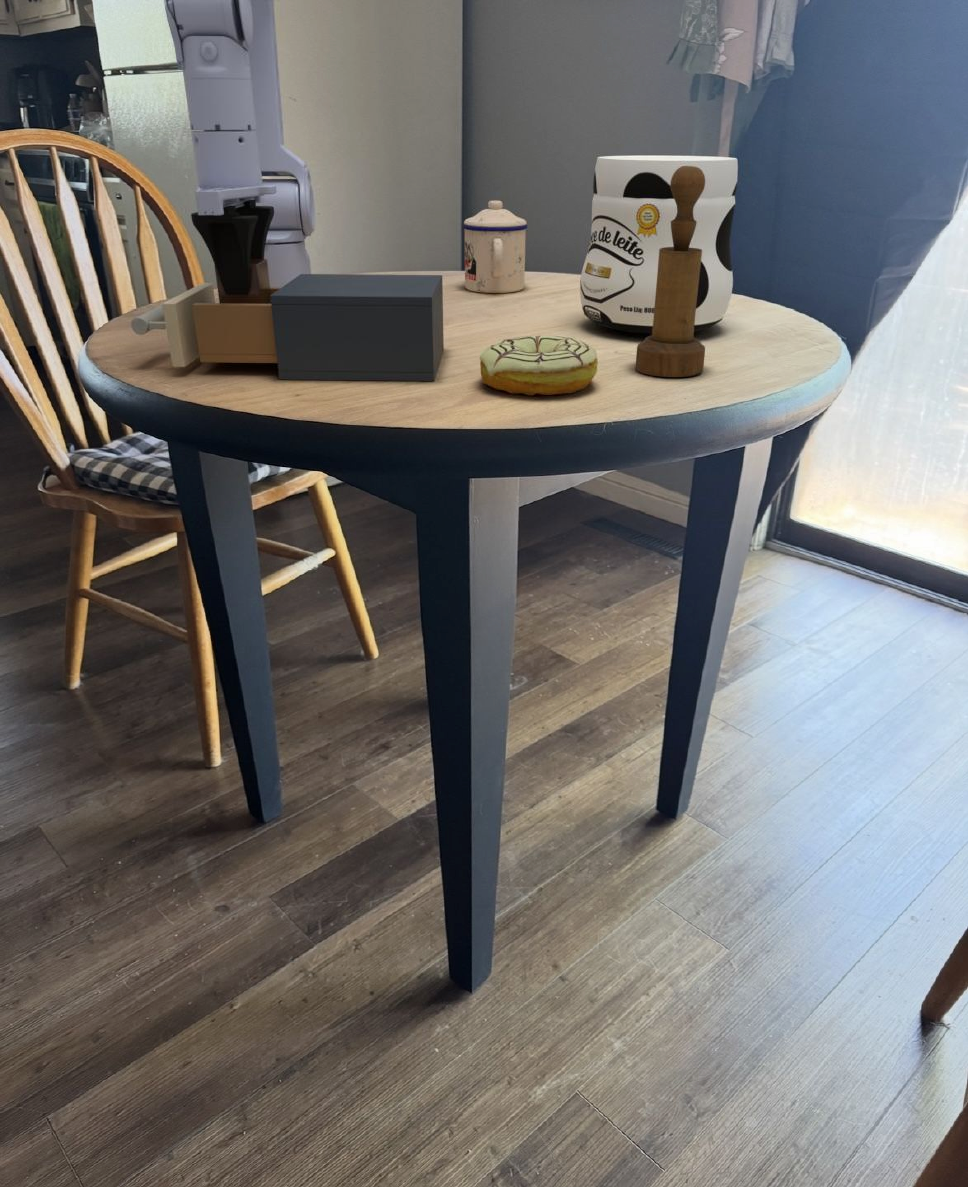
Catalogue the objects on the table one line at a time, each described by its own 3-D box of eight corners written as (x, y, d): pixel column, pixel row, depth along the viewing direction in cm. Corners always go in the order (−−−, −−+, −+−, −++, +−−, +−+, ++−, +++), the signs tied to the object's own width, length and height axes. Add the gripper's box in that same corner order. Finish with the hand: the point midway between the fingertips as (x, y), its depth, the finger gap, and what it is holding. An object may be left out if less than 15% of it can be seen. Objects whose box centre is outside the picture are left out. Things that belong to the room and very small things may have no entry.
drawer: (128, 366, 83) (116, 303, 80) (170, 340, 93) (160, 282, 90) (314, 368, 82) (308, 304, 79) (336, 341, 92) (331, 284, 89)
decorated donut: (482, 369, 86) (482, 330, 84) (592, 371, 85) (594, 331, 83) (477, 398, 77) (476, 355, 75) (599, 400, 76) (602, 357, 74)
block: (231, 301, 87) (226, 258, 85) (271, 301, 87) (267, 258, 85) (219, 308, 83) (213, 264, 82) (261, 309, 83) (256, 264, 81)
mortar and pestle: (656, 358, 90) (675, 163, 81) (714, 368, 86) (740, 165, 78) (622, 371, 85) (638, 166, 77) (682, 382, 82) (706, 168, 73)
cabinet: (279, 379, 82) (269, 295, 78) (307, 348, 93) (300, 273, 90) (434, 381, 82) (431, 296, 78) (443, 350, 93) (442, 275, 89)
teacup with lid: (462, 283, 131) (461, 198, 125) (522, 283, 131) (524, 198, 126) (465, 298, 120) (464, 205, 115) (530, 297, 121) (533, 205, 115)
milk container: (554, 334, 100) (561, 158, 92) (608, 308, 114) (618, 154, 105) (703, 350, 93) (726, 162, 84) (742, 321, 107) (765, 156, 98)
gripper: (246, 132, 71) (265, 304, 78) (287, 130, 84) (301, 278, 91) (161, 131, 72) (187, 303, 78) (215, 130, 84) (233, 278, 91)
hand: (243, 290), depth 84 cm, fingers closed on block, 4 cm apart
